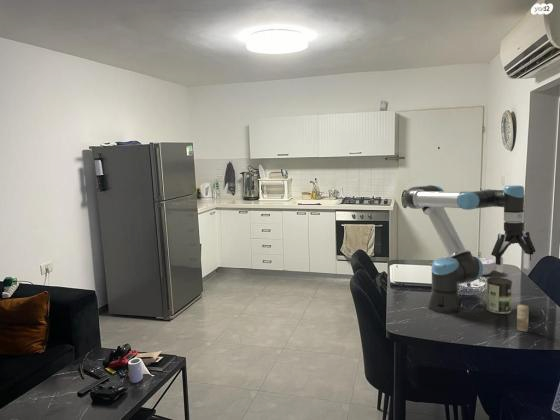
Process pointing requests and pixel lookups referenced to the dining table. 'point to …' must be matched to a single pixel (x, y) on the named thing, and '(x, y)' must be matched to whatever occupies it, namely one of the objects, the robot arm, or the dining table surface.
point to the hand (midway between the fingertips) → (513, 270)
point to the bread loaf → (522, 317)
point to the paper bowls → (487, 265)
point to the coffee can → (499, 295)
